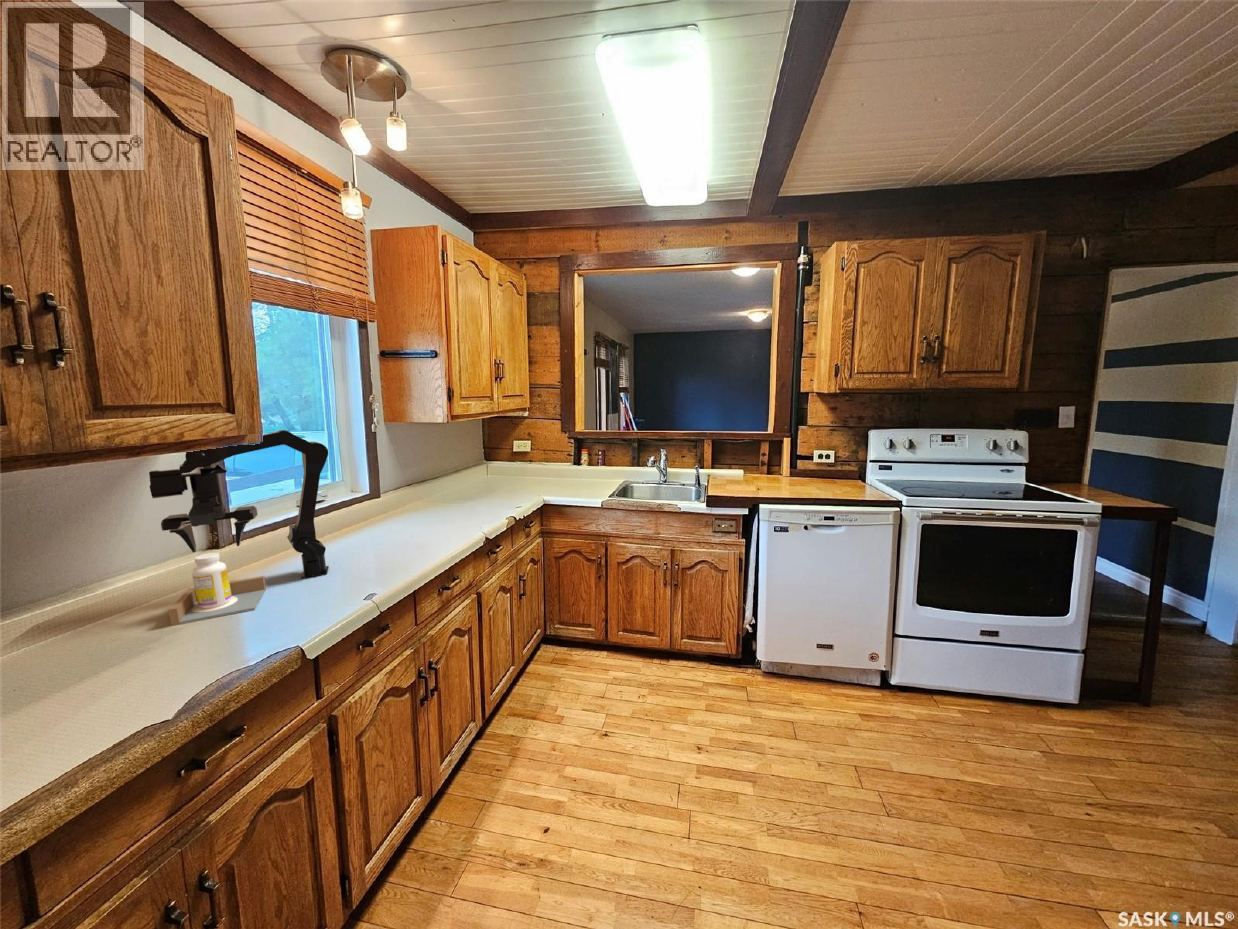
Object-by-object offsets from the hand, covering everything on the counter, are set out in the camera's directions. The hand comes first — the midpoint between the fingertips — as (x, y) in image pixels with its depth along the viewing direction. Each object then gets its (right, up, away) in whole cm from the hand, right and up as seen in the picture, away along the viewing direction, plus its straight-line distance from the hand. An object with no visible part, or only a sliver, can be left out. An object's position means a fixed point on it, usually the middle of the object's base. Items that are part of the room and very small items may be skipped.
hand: (216, 548), depth 127 cm
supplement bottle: (+4, -13, -5) cm, 15 cm away
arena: (+6, -14, -5) cm, 16 cm away
